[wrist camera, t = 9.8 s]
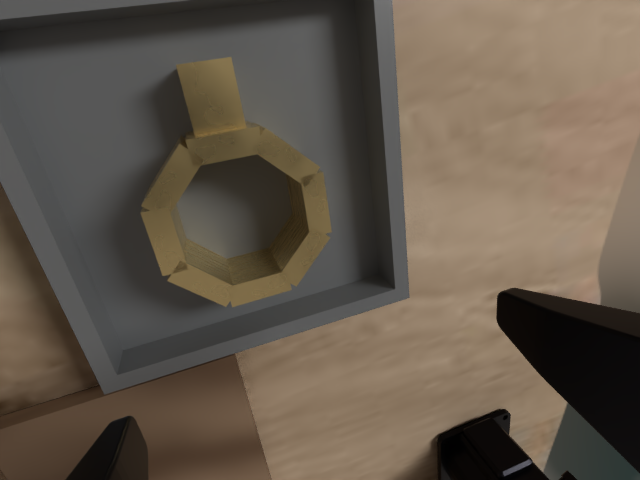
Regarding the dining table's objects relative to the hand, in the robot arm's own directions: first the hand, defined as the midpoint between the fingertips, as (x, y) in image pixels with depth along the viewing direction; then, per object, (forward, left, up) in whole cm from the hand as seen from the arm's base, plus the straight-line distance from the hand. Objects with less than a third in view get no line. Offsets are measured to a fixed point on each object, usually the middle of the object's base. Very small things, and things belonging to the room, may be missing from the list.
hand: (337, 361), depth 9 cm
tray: (+2, +1, -12) cm, 12 cm away
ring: (+2, +1, -11) cm, 11 cm away
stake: (-13, +9, -12) cm, 20 cm away
